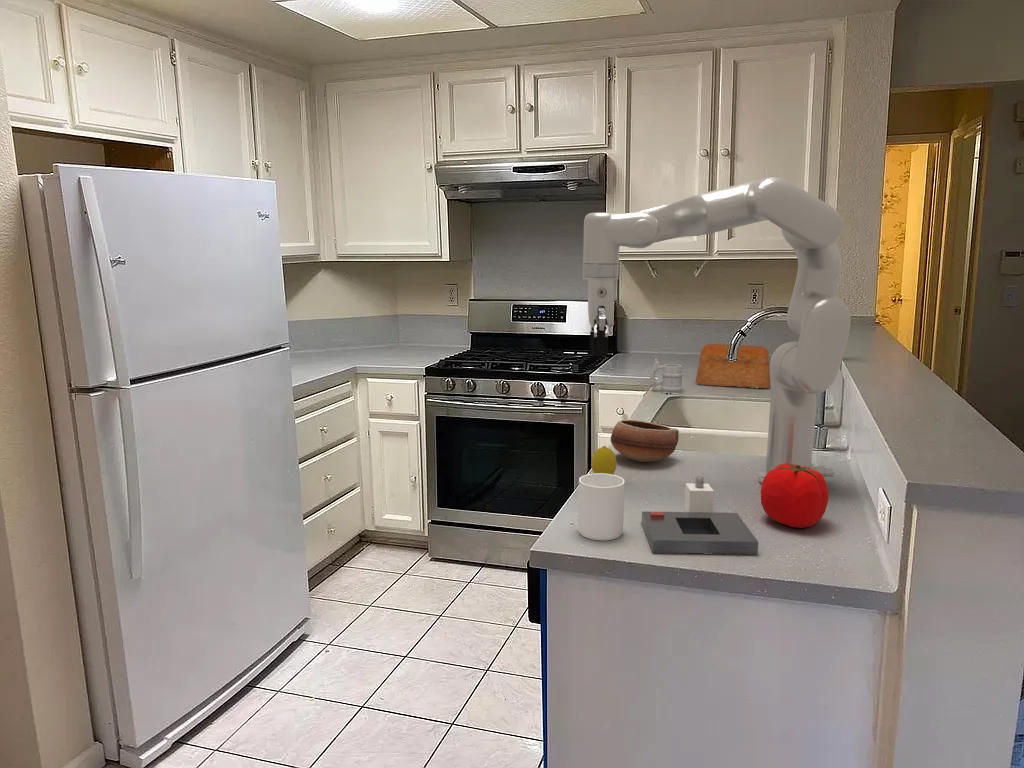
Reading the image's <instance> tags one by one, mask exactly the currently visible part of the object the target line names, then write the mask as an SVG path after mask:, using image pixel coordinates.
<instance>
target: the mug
mask: <svg viewBox="0 0 1024 768" xmlns="http://www.w3.org/2000/svg"><path fill="white" fill-rule="evenodd" d="M658 370H662V372H661V376H662V379H660V380H656V377H655V375H656V372H657V371H658ZM682 370H683V366H682V364H678V363H666V364H663V365H660V362H659V360H658V358H655V359H654V363H653V365H652V368H651V371H650V373H649V384H650V386H651V387H652V389H655V388H656V387H658V386H660V390H661V393H662V392H666V393H681V392H682V391H683V390H684V386H683V381H682V380H683V378H682V377H683V376H684V373H683V372H682ZM681 394H682V393H681Z"/></svg>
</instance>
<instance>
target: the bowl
mask: <svg viewBox="0 0 1024 768" xmlns="http://www.w3.org/2000/svg"><path fill="white" fill-rule="evenodd" d="M679 432H680V431H679V429H678V428H673V427H669V426H667V425H664V424H658V423H656V422H651V421H647V420H646V421H645V420H638V419H621V420H618V421H617V423H616V424H615V426H614V427H613V430H612V432H611V435H610V443H611V445H612V446H613V448H614V449H615V450H616V451H617V452H618V453H619V454H621V455H622V456H624V457H626V458H628V459H630V460H633V461H636V462H639V463H640V462H642V463H652V462H657V461H658V462H659V461H660V460H663V459H666V458H668V457H669V456H671V455H672V454H674V452H675V451H676V447H678V446H677V445H678V443H679V435H680V434H679Z"/></svg>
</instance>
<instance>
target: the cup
mask: <svg viewBox="0 0 1024 768" xmlns="http://www.w3.org/2000/svg"><path fill="white" fill-rule="evenodd" d="M625 484H626V483H625V479H624V478H623V477H621V476H619V475H615V474H613V475H612V474H603V473H595V474H594V473H588V474H584V475H582V476H580V477H578V506H577V507H578V510H577V513H578V515H577V517H578V518H577V529H578V532H579V534H580V535H581V536H582V537H583V538H586V539H588V540H589V539H590V540H593V541H603V542H604V541H612V540H616V539H618V538H620V537H621V535H622V534H623V533H624V512H625V510H624V509H625V486H626V485H625Z"/></svg>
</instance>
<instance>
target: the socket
mask: <svg viewBox="0 0 1024 768" xmlns="http://www.w3.org/2000/svg"><path fill="white" fill-rule="evenodd" d="M641 526H642V529H643V532H644V534H645V537H646V540H647V541H648V545H649V547H650V551H651V550H652V551H651V553H652V554H667V553H707V554H706V555H726V554H758V553H759V540H758V539H757V538H756V537H755V535H754V534H753V532H752V531H751V530H750V528H749V527H748V525H747V524H746V523H745V521H744V520H743V518H742V517H741V516H740V514H738V512H713V511H712V512H686V511H641ZM708 553H710V554H708ZM711 553H712V554H711Z"/></svg>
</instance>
